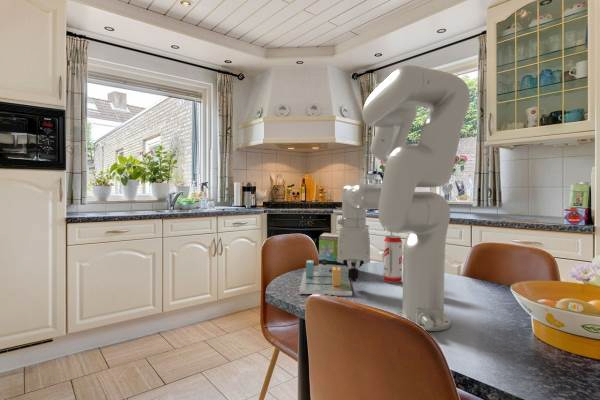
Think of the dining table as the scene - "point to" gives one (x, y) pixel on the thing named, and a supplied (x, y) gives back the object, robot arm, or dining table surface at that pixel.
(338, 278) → the fader orange
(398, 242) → the beer can
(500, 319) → the dining table surface
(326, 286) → the console
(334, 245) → the tea box
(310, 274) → the fader teal
